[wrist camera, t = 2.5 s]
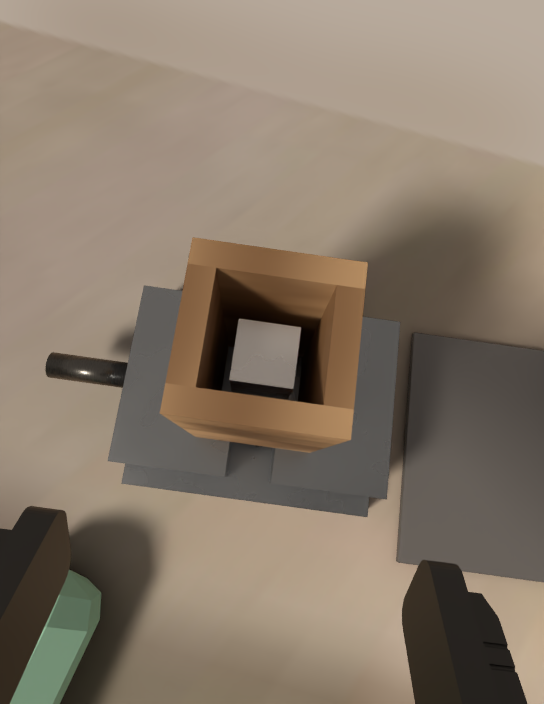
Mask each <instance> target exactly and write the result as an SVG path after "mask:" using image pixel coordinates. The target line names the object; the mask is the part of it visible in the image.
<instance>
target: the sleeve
mask: <svg viewBox="0 0 544 704" xmlns="http://www.w3.org/2000/svg"><path fill="white" fill-rule="evenodd" d="M367 266H368V263H367V262H360V261H353V260H346V259H339V258H332V257H325V256H318V255H311V254H304V253H297V252H290V251H283V250H277V249H270V248H263V247H256V246H249V245H242V244H235V243H228V242H221V241H214V240H207V239H200V238H192V243H191V249H190V254H189V259H188V265H187V270H186V275H185V281H184V286H183V291H182V297H181V302H180V307H179V313H178V318H177V323H176V329H175V334H174V339H173V345H172V350H171V355H170V361H169V366H168V371H167V377H166V382H165V387H164V393H163V398H162V403H161V409H160V414H161V415H163V416H164V417H166V418H167V419H169V420H170V421H172V422H174V423H175V424H177V425H178V426H180V427H181V428H183V429H184V430H186V431H187V432H189V433H190V434H192V435H193V436H195V437H200V438H207V439H214V440H221V441H228V442H236V443H243V444H250V445H257V446H265V447H272V448H279V449H286V450H293V451H301V452H308V453H311V452H314V451H317V450H320V449H324V448H327V447H330V446H333V445H336V444H340V443H343V442H346V441H349V440H351V434H352V424H353V413H354V403H355V392H356V382H357V371H358V361H359V350H360V340H361V329H362V319H363V308H364V298H365V287H366V277H367ZM239 319H246V320H253V321H260V322H267V323H274V324H281V325H288V326H295V327H301V333H300V341H299V349H298V356H301V357H303V361H302V369H301V377H300V385H299V393H298V402H297V401H290V400H283V399H275V398H268V397H261V396H254V395H247V394H240V393H233V392H225V391H222V385H223V379H224V372H225V366H226V360H227V353H228V347H229V346H230V347H235V340H236V334H237V327H238V321H239Z"/></svg>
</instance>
